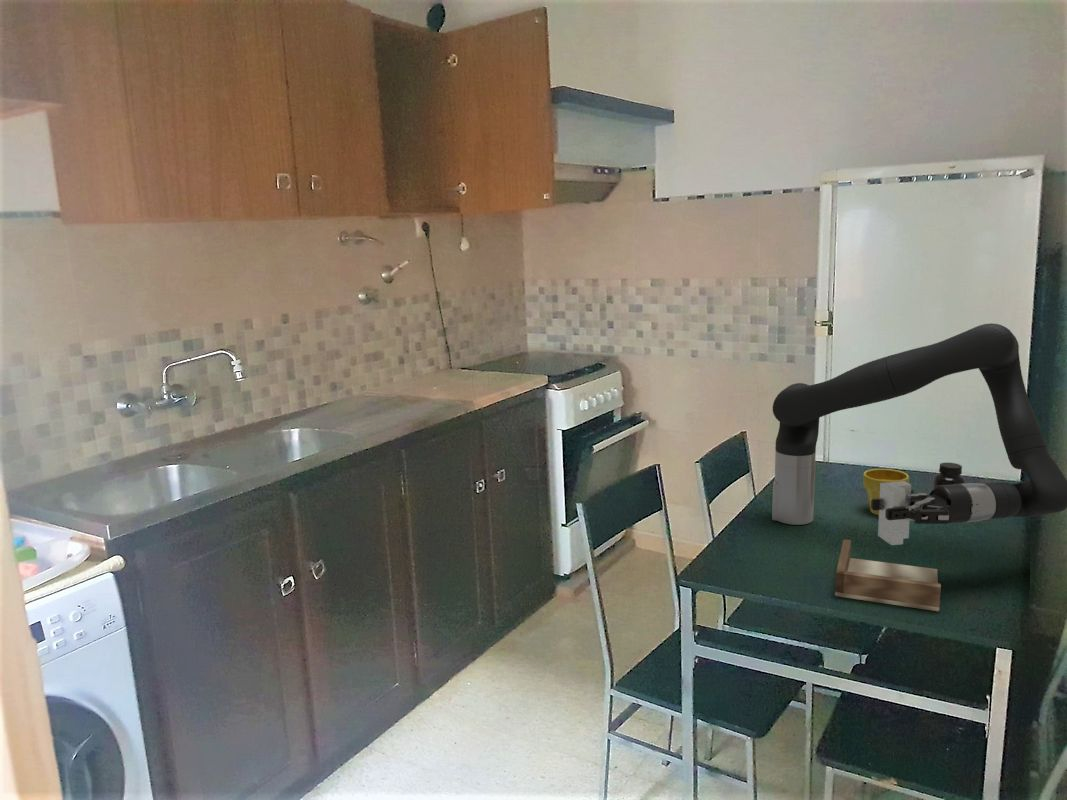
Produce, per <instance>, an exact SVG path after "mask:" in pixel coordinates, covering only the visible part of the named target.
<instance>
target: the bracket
mask: <svg viewBox="0 0 1067 800" xmlns="http://www.w3.org/2000/svg"><path fill="white" fill-rule="evenodd" d="M911 489H912V484H911V483H910V482H909V483H907V482H905V481H900V482H887V483H880V503H879V515H878V524H877V525H878V526H877V527H878V528H877V536H878V537H880V539H882V540H883V541H885V542H886V543H887V544H889V545H890V546H899V545H904V540H906V539H909V537H910V523H911V521H909V520H906V519H900V520H887V519H886V518H885V514H886V509H887V508H898V507H905V508H906V509H907V507H908V506H910V502H911Z"/></svg>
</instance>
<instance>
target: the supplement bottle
mask: <svg viewBox="0 0 1067 800" xmlns="http://www.w3.org/2000/svg"><path fill="white" fill-rule="evenodd" d="M962 469H963V466H962V464H960V463H959V464H958V463H954V462H941V463H940V464H939V469H938V472H939V473H937V474H936V475H935V476H934V478H933V485H932V486H933V487H932V490H933V489H934V488H935V487H936V486H939V485H951V484H964V483H966V479H965V477H963V476H962V473H963V471H962Z"/></svg>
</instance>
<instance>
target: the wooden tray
mask: <svg viewBox="0 0 1067 800" xmlns="http://www.w3.org/2000/svg"><path fill="white" fill-rule="evenodd" d="M851 548H852V540H851V539H845V538H844V539H843V541H842V544H841V549H840V554H839V557H838V562H837V567H836V570H835V586H834V587H835V588H834V596H835V597H840V598H846V599H853V600H858V601H861V600H862V601H866V602H872V603H880V604H886V605H894V606H900V607H906V608H911V609H912V608H915V609H919V610H920V609H921V610H925V611H926V610H927V611H933V612H940V605H941V603H940V602H941V591H942V589H941V588H942V585H941V583H939V578H938V568H931V567H923V566H917V565H916V566H914V565H909V564H908V565H907V564H902V563H901V564H900V563H891V562H885V561H878V560H869V559H861V558H853V557H851V551H852V549H851Z"/></svg>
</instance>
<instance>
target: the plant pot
mask: <svg viewBox="0 0 1067 800" xmlns="http://www.w3.org/2000/svg"><path fill="white" fill-rule="evenodd" d="M862 475H863V477H862V478H863V479H862V483H863V484H862V485H863V487H864V489H865V490H866V495H867V499H868V506H869V511H870V512H871V513H872V514H873V515H876V516H879V510H873V509H871V500H872V499H877V498H880V483H887V482H900V481H905V482H907V483H909V484H910V476H909V474H907V473H906V472H904V471H901V470H898V469H891V468H872V469H867V470H865V471H864V472H863V474H862Z"/></svg>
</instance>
